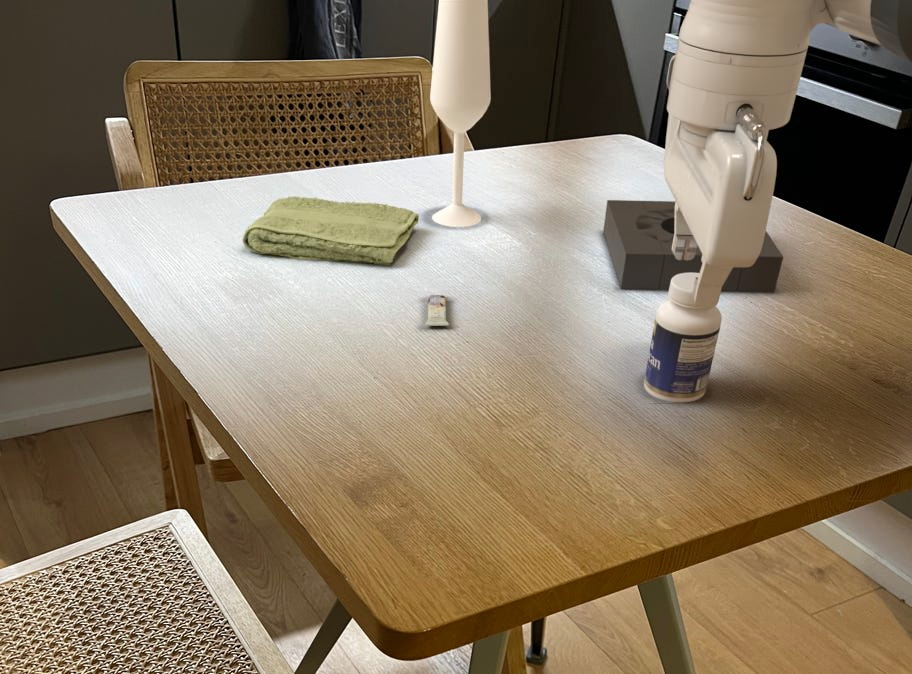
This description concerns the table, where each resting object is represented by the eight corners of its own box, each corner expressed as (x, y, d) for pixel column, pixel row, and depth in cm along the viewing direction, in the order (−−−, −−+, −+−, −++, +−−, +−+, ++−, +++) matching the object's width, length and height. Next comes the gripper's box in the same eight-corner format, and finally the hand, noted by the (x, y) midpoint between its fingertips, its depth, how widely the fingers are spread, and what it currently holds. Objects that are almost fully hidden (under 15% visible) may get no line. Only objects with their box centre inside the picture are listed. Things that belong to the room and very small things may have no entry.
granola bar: (448, 331, 93) (449, 320, 92) (424, 330, 93) (425, 320, 92) (448, 301, 98) (448, 291, 97) (425, 301, 98) (425, 291, 97)
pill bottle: (634, 378, 87) (652, 270, 80) (690, 374, 88) (713, 266, 81) (655, 408, 83) (676, 297, 76) (714, 403, 84) (740, 293, 77)
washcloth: (396, 272, 104) (396, 241, 101) (239, 257, 106) (236, 227, 104) (421, 229, 113) (421, 200, 111) (276, 216, 115) (274, 188, 113)
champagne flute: (477, 233, 112) (488, -13, 96) (422, 227, 114) (423, -17, 97) (490, 213, 117) (502, -24, 101) (436, 208, 118) (440, -28, 102)
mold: (739, 238, 112) (747, 202, 110) (773, 295, 101) (783, 256, 98) (602, 235, 112) (607, 199, 110) (620, 292, 101) (626, 253, 98)
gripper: (816, 132, 62) (761, 337, 71) (745, 57, 77) (707, 235, 86) (717, 128, 62) (675, 334, 71) (665, 55, 77) (636, 233, 86)
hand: (692, 279), depth 79 cm, fingers open, 8 cm apart
